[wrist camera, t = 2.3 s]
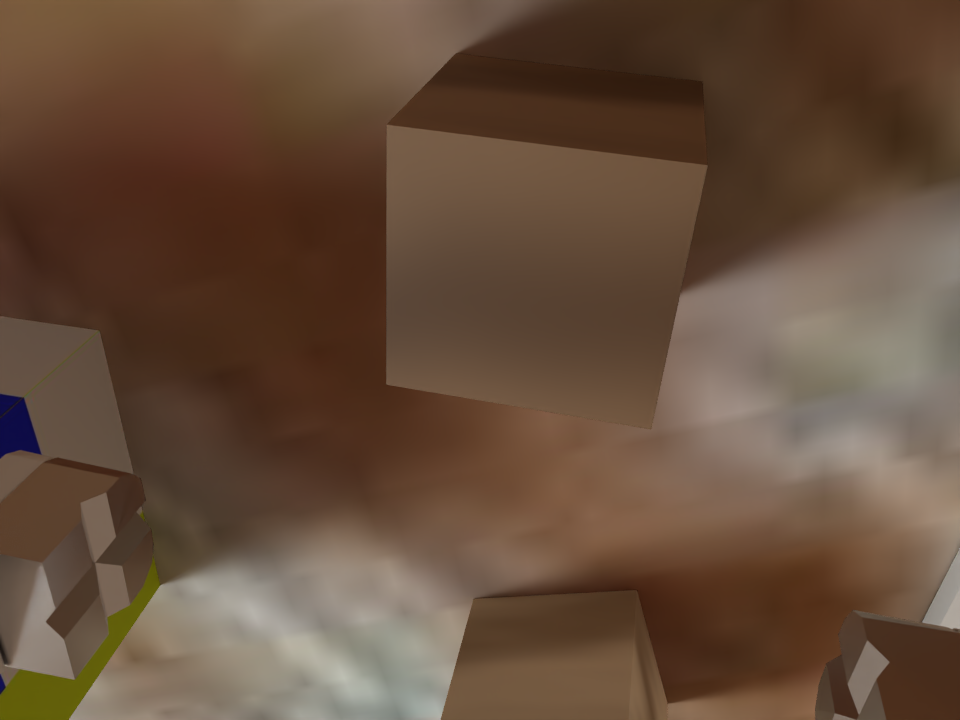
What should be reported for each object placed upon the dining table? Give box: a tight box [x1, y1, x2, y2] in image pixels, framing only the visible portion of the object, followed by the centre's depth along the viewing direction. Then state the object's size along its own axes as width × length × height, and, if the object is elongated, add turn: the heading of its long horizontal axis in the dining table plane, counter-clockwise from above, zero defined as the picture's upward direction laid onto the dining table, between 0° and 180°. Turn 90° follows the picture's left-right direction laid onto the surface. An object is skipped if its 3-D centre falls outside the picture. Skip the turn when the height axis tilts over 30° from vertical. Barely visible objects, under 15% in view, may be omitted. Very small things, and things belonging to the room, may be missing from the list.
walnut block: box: [386, 54, 708, 429], centre depth 17 cm, size 5×5×5 cm
